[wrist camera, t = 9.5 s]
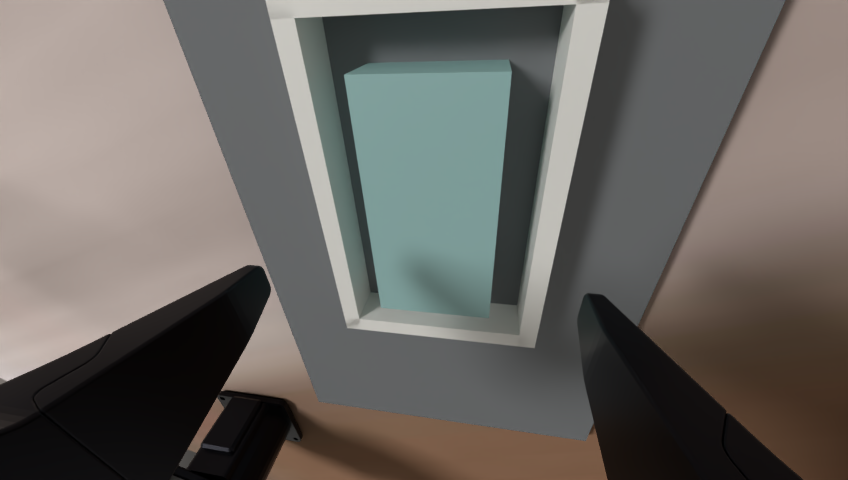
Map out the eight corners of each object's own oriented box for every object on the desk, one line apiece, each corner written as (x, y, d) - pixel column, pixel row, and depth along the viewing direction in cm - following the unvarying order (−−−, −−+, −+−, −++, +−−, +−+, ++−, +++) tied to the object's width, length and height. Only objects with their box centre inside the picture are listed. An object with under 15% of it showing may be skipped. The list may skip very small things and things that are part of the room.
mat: (583, 429, 25) (585, 440, 24) (323, 392, 28) (318, 401, 27) (821, -126, 9) (847, -137, 8) (157, -62, 12) (137, -65, 11)
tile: (368, 62, 12) (343, 74, 10) (509, 59, 12) (511, 71, 10) (393, 273, 18) (380, 307, 16) (489, 281, 17) (488, 318, 15)
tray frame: (530, 317, 18) (534, 348, 17) (359, 301, 20) (347, 327, 18) (597, -31, 10) (618, -37, 8) (294, -12, 12) (261, -14, 10)
